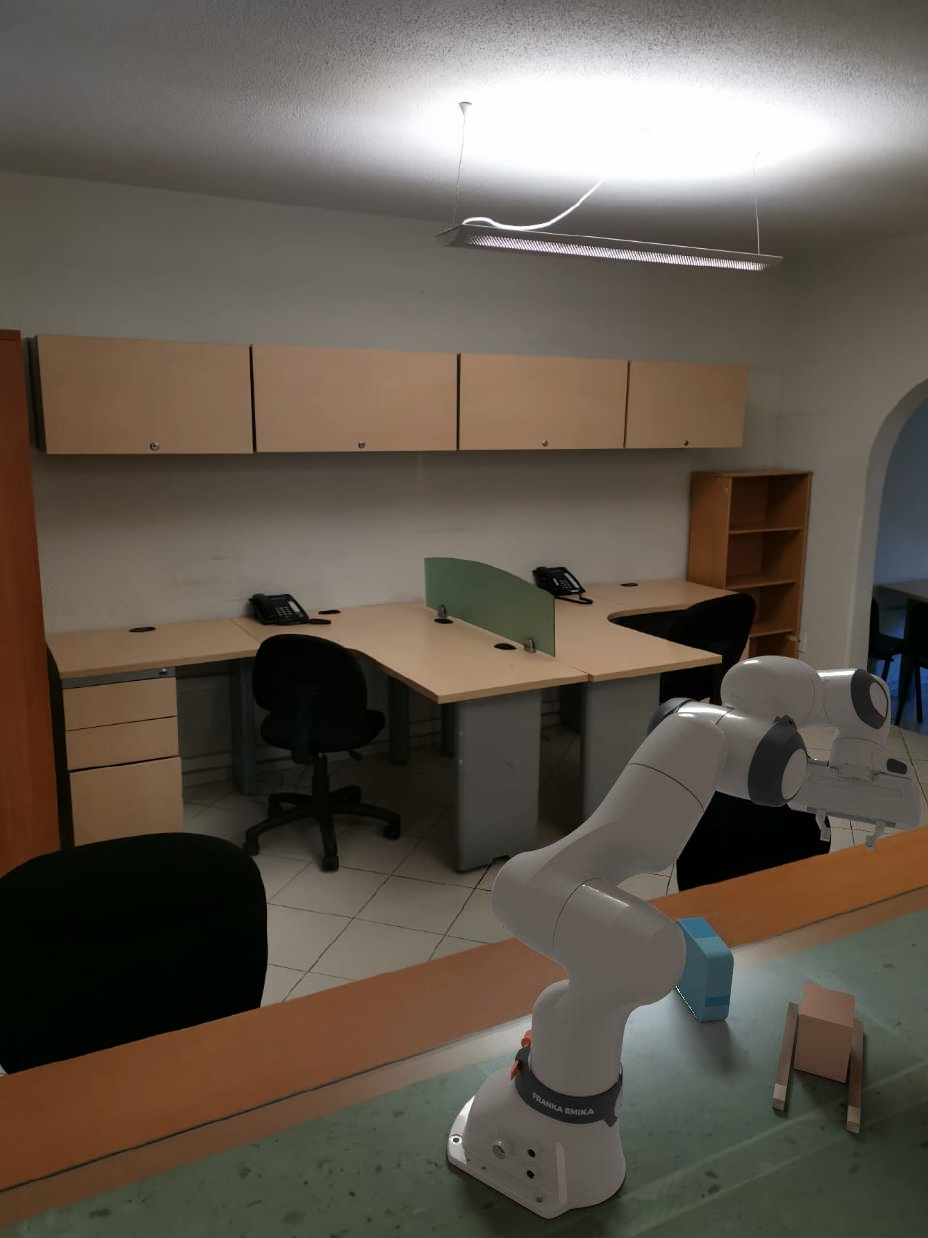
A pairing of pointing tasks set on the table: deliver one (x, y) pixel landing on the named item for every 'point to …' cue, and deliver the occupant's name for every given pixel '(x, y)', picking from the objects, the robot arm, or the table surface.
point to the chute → (854, 1074)
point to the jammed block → (825, 1032)
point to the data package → (705, 971)
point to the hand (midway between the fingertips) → (847, 844)
